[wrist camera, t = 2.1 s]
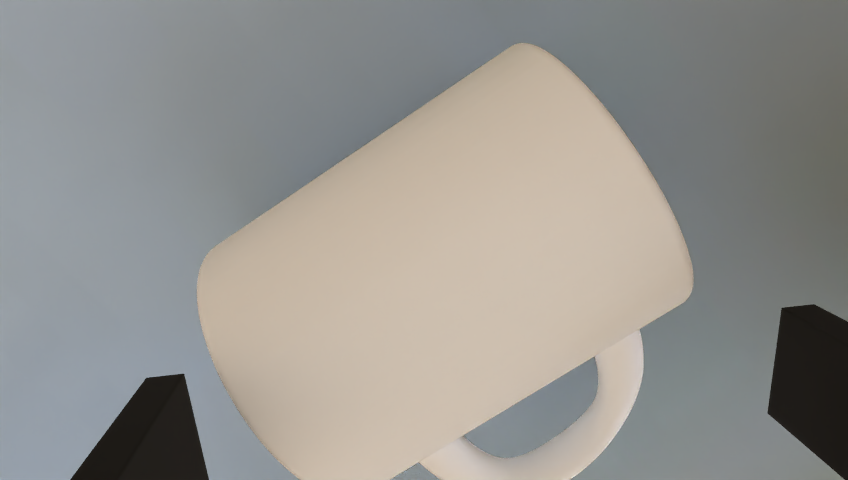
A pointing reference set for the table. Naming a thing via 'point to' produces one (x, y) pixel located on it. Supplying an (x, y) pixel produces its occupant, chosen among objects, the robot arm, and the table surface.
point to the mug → (449, 284)
